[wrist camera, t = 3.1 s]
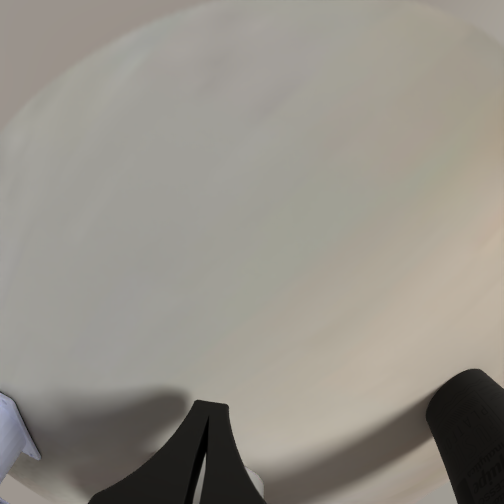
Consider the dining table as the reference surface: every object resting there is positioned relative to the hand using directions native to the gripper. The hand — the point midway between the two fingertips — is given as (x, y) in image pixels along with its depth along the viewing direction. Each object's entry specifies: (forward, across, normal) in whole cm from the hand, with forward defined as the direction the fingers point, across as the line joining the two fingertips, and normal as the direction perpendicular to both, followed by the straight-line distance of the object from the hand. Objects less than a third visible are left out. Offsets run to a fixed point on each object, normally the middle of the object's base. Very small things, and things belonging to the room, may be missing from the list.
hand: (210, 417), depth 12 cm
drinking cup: (+3, -15, +1) cm, 15 cm away
